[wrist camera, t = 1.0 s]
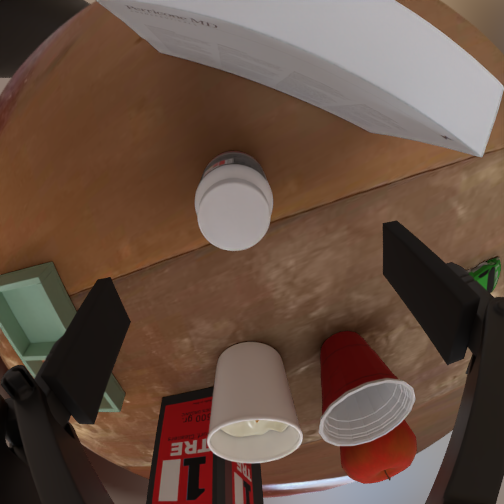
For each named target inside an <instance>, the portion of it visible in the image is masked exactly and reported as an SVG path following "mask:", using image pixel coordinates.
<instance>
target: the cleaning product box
mask: <svg viewBox="0 0 504 504" xmlns="http://www.w3.org/2000/svg"><path fill="white" fill-rule="evenodd" d="M213 389H214V387H210V388H206V389H202V390H197V391H192V392H188V393H183V394H178V395H173V396H167V397H163V398H162V403H161V409H160V415H159V420H158V426H157V432H156V439H155V445H154V451H153V458H152V465H151V471H150V479H149V486H148V494H147V502H146V504H263V491H262V479H261V467H260V463H239V462H233V461H229V460H226V459H223V458H221V457H219V456H217V455H215V454H214V453H213V452H212V451H211V450H210V449H209V447H208V445H207V437H208V432H209V424H210V415H211V406H212V398H213Z"/></svg>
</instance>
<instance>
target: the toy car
mask: <svg viewBox="0 0 504 504" xmlns="http://www.w3.org/2000/svg"><path fill="white" fill-rule="evenodd" d="M500 271H501V264H500V260H499V257H497V258H494V259H493V260H492V259H491V260H488V261H487V262H483V263H481V264H479V265H478V267H476V268H474V269H472V270H471V269H469V270H467V272H468V273H469V275H471V276H472V277H473V278H474V279H475V281H476V280H477V281H478V282H479V283H480V284H481V285H482V286H483V287H484V288H485V289H486V290H487V291H488V292H489V293H491V292H492V291H493V290H494V288H495V286H496V284H497V282H498V279H499V275H500Z"/></svg>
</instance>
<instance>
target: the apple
mask: <svg viewBox="0 0 504 504" xmlns="http://www.w3.org/2000/svg"><path fill="white" fill-rule="evenodd" d="M416 451H417V444H416V436H415V435H414V433H413V432H412V430H411V429H410V427H409V426H408V424H407V423H406V421H405V420H403V421H402V422H401V423H400V424H399V425H398V426H397V427H395V428H394V429H393V430H391V431H390V432H388V433H387V434H386V435H383V436H381V437H379V438H377V439H375V440H373V441H370V442H367V443H363V444H359V445H355V446H340V453H341V464H342V468H343V470H344V471H345V472H346V474H347V475H348V476H349V477H350V478H352V479H353V480H355V481H358V482H361V483H364V484H365V483H376V482H380V481H383V480H386V479H389V480H390V478H391V477H392V476H394V475H396V474H398V473H400V472H401V471H403V470H405V469H406V468H407V467H409V466H410V465H411V463H412V461H413V459H414V457H415V455H416Z"/></svg>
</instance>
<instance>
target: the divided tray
mask: <svg viewBox="0 0 504 504" xmlns="http://www.w3.org/2000/svg"><path fill="white" fill-rule="evenodd" d="M76 313H77V312H76V310H75V308H74V306H73V304H72V302H71V300H70V298H69V296H68V294H67V292H66V290H65V288H64V286H63V284H62V282H61V279H60V277H59V275H58V273H57V271H56V269H55V266H54V264H53V262H49V263H45V264H41V265H37V266H33V267H29V268H25V269H22V270H18V271H14V272H10V273H7V274H3V275H0V328H1V329H2V331H3V333H4V334H5V336H6V337H7V339H8V341H9V342H10V344H11V345H12V347H13V348H14V350H15V351H16V353H17V354H18V356H19V357H20V359H21V360H22V362H23V363H24V365H25V366H26V367H27V369H28V370H29V372H30V373H31V374H32V376H33V377H34V378H35V377H36V375H37V373H38V371H39V370H40V368H41V366H42V364H43V362H44V361H45V360H46V357H47V355H48V354H49V352H50V350H51V348H52V346H53V345H54V343H55V342H56V341H57V340H58V339H59V338H60V337H61V336H63V335H64V333H65V331H66V329H67V328H68V326H69V324H70V323H71V321H72V319H73V318H74V316H75V314H76ZM124 396H125V392H124V391H123V389H122V388H121V386H120V385H119V383H118V382H117V380H116V379H115V377H114V376H113V374H112V373H111V376H110V378H109V381H108V384H107V387H106V390H105V393H104V396H103V399H102V402H101V405H100V408H99V411H98V412H120V411H121V407H122V404H123V400H124Z"/></svg>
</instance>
